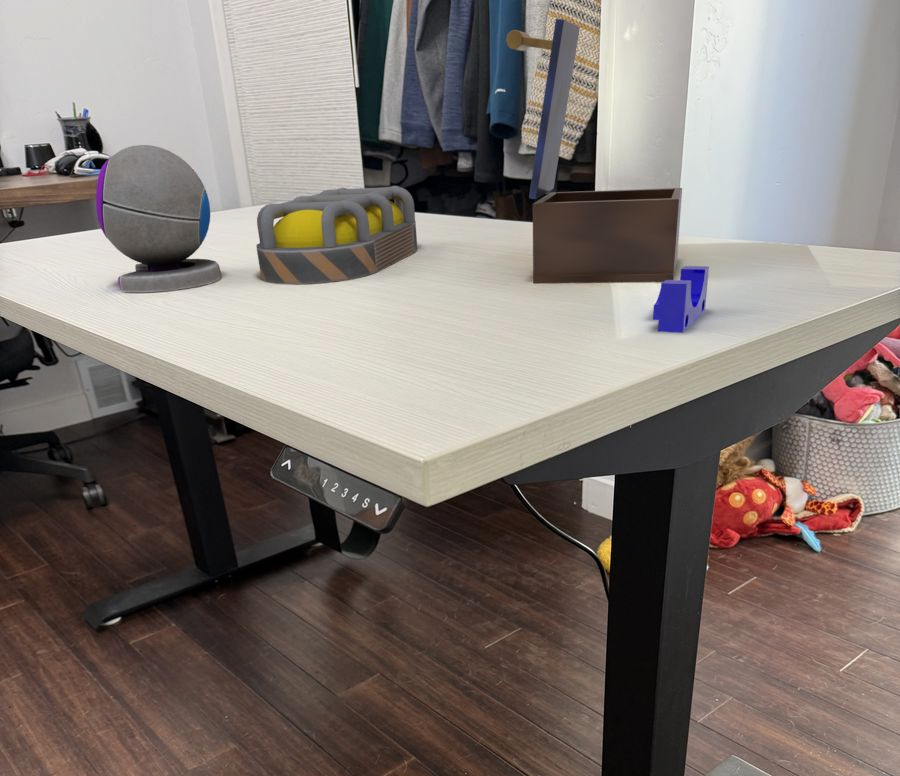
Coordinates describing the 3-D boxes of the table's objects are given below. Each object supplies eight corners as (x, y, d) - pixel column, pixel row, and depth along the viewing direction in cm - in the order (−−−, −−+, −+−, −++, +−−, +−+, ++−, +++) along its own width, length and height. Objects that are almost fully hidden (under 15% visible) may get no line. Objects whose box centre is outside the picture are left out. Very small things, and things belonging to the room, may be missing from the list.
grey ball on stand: (127, 277, 111) (97, 146, 103) (227, 270, 112) (204, 139, 104) (104, 296, 100) (68, 150, 92) (216, 287, 101) (189, 142, 93)
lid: (580, 27, 89) (524, 19, 90) (564, 19, 80) (502, 11, 81) (553, 188, 98) (503, 180, 99) (536, 199, 88) (480, 190, 89)
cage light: (426, 182, 119) (346, 206, 94) (430, 244, 123) (354, 283, 98) (328, 186, 122) (226, 210, 98) (335, 246, 126) (239, 284, 102)
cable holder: (664, 313, 76) (667, 265, 74) (704, 315, 75) (709, 266, 73) (639, 334, 70) (642, 282, 68) (682, 336, 69) (686, 284, 67)
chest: (676, 263, 98) (682, 187, 94) (673, 281, 89) (679, 198, 85) (549, 264, 102) (550, 192, 98) (533, 283, 92) (532, 203, 88)
